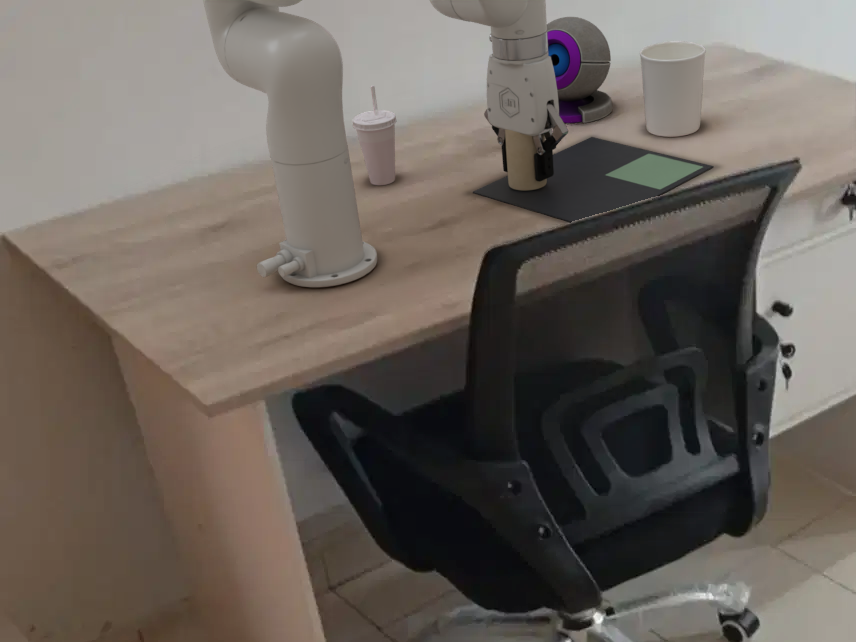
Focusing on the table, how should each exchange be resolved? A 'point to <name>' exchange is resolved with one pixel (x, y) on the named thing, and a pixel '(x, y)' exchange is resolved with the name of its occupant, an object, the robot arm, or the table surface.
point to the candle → (521, 161)
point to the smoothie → (377, 142)
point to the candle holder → (672, 87)
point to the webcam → (579, 68)
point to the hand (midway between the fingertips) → (528, 172)
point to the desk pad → (598, 180)
